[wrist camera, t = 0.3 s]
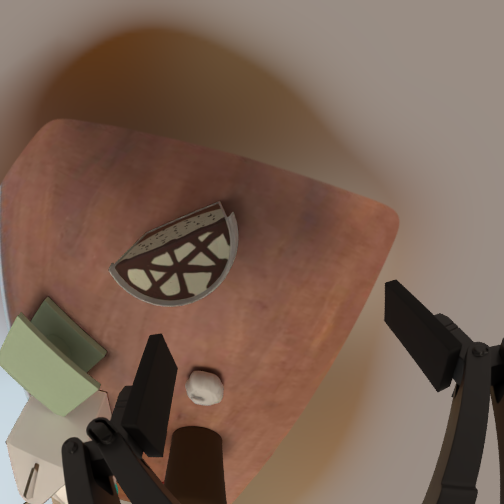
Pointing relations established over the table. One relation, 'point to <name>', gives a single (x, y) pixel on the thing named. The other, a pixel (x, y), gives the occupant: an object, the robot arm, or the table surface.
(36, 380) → the stand
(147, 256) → the food container
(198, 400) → the garlic
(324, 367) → the table surface
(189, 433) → the olive oil
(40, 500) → the gable box
